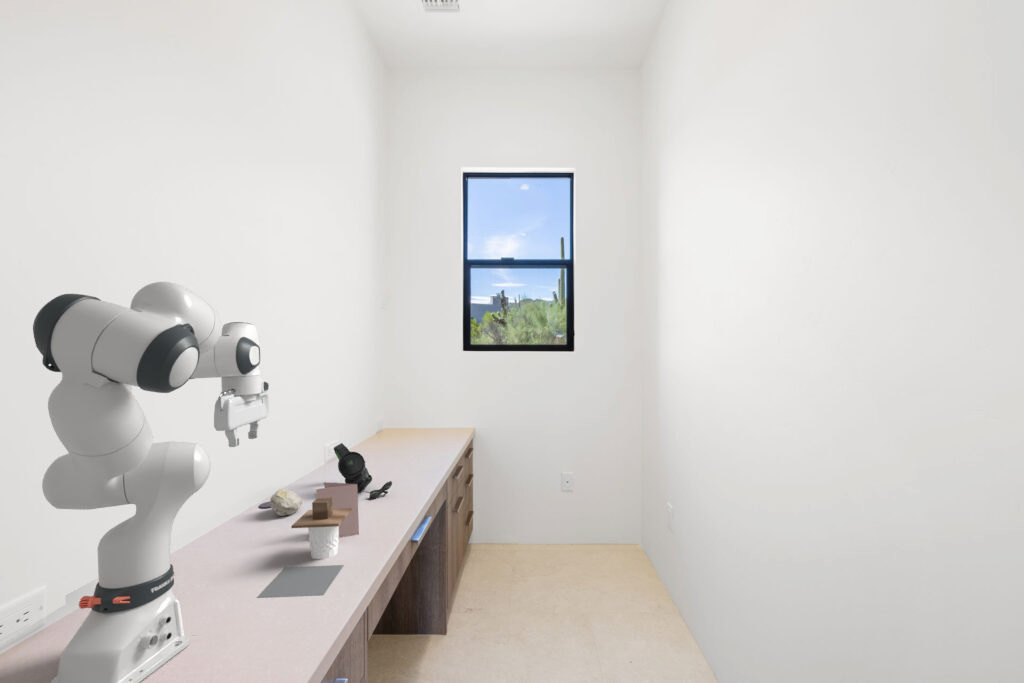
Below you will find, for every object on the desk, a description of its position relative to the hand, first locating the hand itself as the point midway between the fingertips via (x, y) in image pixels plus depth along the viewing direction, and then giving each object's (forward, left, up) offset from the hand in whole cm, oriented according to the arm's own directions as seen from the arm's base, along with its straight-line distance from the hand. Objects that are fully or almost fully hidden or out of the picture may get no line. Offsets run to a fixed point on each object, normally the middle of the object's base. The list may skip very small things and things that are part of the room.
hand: (243, 442), depth 127 cm
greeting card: (+22, -15, -33) cm, 43 cm away
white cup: (+9, -16, -33) cm, 38 cm away
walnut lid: (+9, -16, -23) cm, 29 cm away
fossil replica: (+44, +9, -33) cm, 56 cm away
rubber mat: (-6, -16, -33) cm, 37 cm away
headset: (+66, -10, -33) cm, 75 cm away
